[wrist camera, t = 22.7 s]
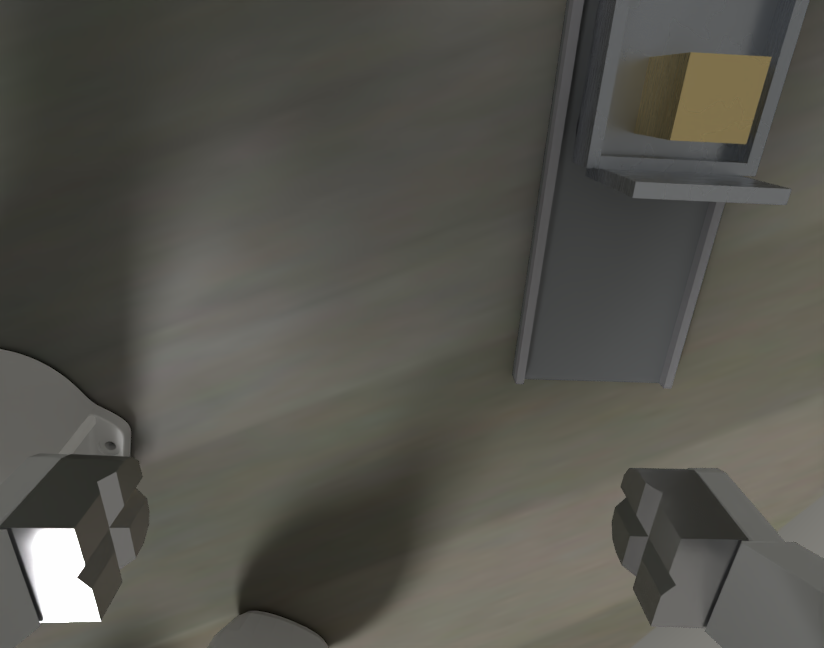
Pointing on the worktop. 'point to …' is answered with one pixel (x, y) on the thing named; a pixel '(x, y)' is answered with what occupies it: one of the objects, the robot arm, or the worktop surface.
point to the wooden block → (701, 97)
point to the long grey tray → (623, 84)
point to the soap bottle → (265, 633)
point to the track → (605, 256)
